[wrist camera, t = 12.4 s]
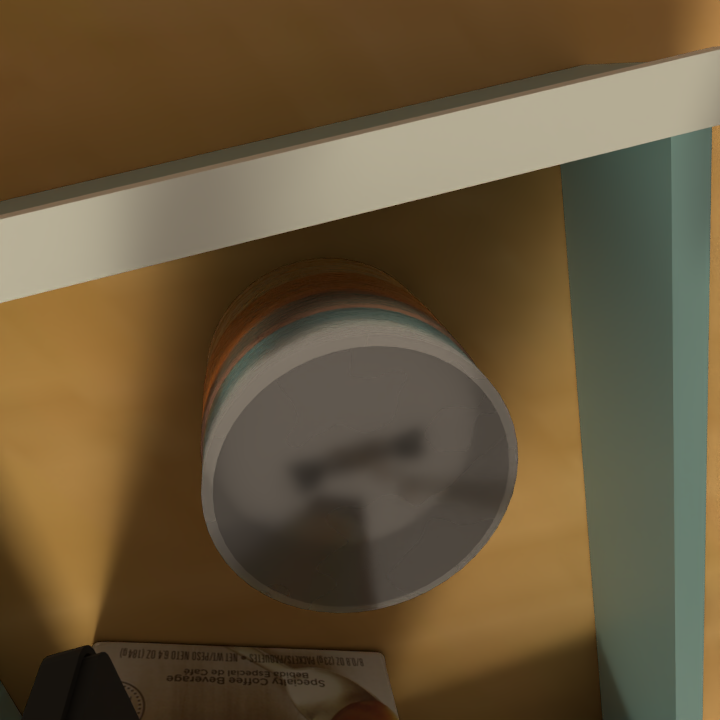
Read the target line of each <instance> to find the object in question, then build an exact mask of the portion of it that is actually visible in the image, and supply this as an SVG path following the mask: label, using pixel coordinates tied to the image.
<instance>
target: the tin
mask: <svg viewBox="0 0 720 720" xmlns="http://www.w3.org/2000/svg"><path fill="white" fill-rule="evenodd" d="M201 459H202V487H201V498H202V507H203V514H204V518H205V521H206V525H207V529H208V532H209V534H210V536H211V538H212V540H213V542H214V545H215V547H216V548H217V550H218V551H219V553H220V554H221V556H222V557H223V559H224V560H225V562H226V563H227V564H228V565H229V566H230V567H231V568H232V570H233V571H234V572H235V573H236V574H237V575H238V576H239V577H241V578H242V579H243V580H244V581H245V582H247V583H248V584H249V585H250V586H252V587H253V588H255V589H257V590H258V591H260V592H261V593H263V594H265V595H266V596H268V597H271V598H273V599H275V600H277V601H280V602H282V603H285V604H288V605H291V606H295V607H298V608H301V609H307V610H312V611H318V612H331V613H350V612H362V611H369V610H376V609H380V608H384V607H388V606H392V605H396V604H398V603H401V602H404V601H407V600H409V599H412V598H414V597H417V596H419V595H421V594H423V593H425V592H427V591H429V590H431V589H433V588H434V587H436V586H438V585H439V584H441V583H443V582H444V581H446V580H447V579H449V578H450V577H451V576H453V575H454V574H455V573H457V572H458V571H459V570H461V569H462V568H463V567H464V566H465V565H466V564H467V563H468V562H469V561H470V560H471V559H473V558H474V557H475V556H476V555H477V553H478V552H479V551H480V550H481V549H482V548H483V546H484V545H485V544H486V543H487V542H488V540H489V539H490V537H491V536H492V534H493V533H494V532H495V530H496V529H497V527H498V525H499V523H500V522H501V520H502V518H503V516H504V514H505V512H506V510H507V507H508V505H509V502H510V499H511V497H512V494H513V489H514V485H515V481H516V476H517V465H518V450H517V439H516V434H515V429H514V425H513V422H512V420H511V417H510V414H509V411H508V409H507V407H506V405H505V403H504V402H503V400H502V398H501V396H500V394H499V393H498V392H497V390H496V389H495V388H494V387H493V385H492V384H491V383H490V381H489V380H488V379H487V378H486V377H485V376H484V374H483V373H482V372H481V371H480V370H479V369H478V368H477V367H476V365H475V364H474V362H473V360H472V359H471V357H470V356H469V355H468V354H467V352H466V351H465V350H464V349H463V347H462V346H461V345H460V344H459V343H458V342H457V341H456V339H455V338H454V337H453V336H452V335H451V334H450V333H449V332H448V331H447V330H446V328H445V327H444V326H443V325H442V324H441V323H440V322H439V321H438V320H437V319H436V317H435V316H434V315H433V314H432V313H431V312H430V311H429V310H428V309H427V308H426V307H425V306H424V305H423V304H422V303H421V302H420V301H419V300H418V299H416V298H415V297H414V296H413V295H412V294H411V293H410V292H409V291H408V290H407V289H406V288H405V287H404V286H403V285H402V284H401V283H400V282H398V281H397V280H395V279H394V278H393V277H391V276H390V275H388V274H386V273H385V272H383V271H381V270H379V269H377V268H375V267H372V266H369V265H366V264H364V263H361V262H356V261H352V260H347V259H337V258H319V259H310V260H304V261H299V262H295V263H292V264H289V265H286V266H283V267H280V268H278V269H276V270H274V271H272V272H270V273H268V274H266V275H264V276H263V277H261V278H260V279H258V280H257V281H255V282H254V283H252V284H251V285H250V286H249V287H248V288H246V289H245V290H244V291H243V292H242V293H241V294H240V295H239V296H238V297H237V298H236V299H235V300H234V301H233V302H232V304H231V305H230V306H229V308H228V309H227V311H226V312H225V313H224V315H223V316H222V318H221V320H220V322H219V324H218V326H217V328H216V330H215V332H214V335H213V338H212V341H211V344H210V349H209V354H208V359H207V371H206V377H205V382H204V395H203V413H202V431H201Z"/></svg>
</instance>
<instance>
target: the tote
mask: <svg viewBox="0 0 720 720" xmlns="http://www.w3.org/2000/svg"><path fill="white" fill-rule="evenodd" d="M717 125H720V46H718V47H710V48H706V49H702V50H698V51H693V52H689V53H685V54H681V55H676V56H672V57H668V58H664V59H659V60H655V61H651V62H635V63H611V64H587V65H581V66H577V67H573V68H569V69H564V70H560V71H556V72H551V73H547V74H543V75H539V76H534V77H530V78H526V79H522V80H517V81H513V82H509V83H504V84H500V85H496V86H492V87H487V88H483V89H479V90H475V91H470V92H466V93H462V94H457V95H453V96H449V97H445V98H440V99H436V100H432V101H427V102H423V103H419V104H415V105H410V106H406V107H402V108H398V109H393V110H389V111H385V112H380V113H376V114H372V115H368V116H363V117H359V118H355V119H351V120H346V121H342V122H338V123H333V124H329V125H325V126H321V127H316V128H312V129H308V130H304V131H299V132H295V133H291V134H286V135H282V136H278V137H274V138H269V139H265V140H261V141H257V142H252V143H248V144H244V145H239V146H235V147H231V148H227V149H222V150H218V151H214V152H209V153H205V154H201V155H197V156H192V157H188V158H184V159H180V160H175V161H171V162H167V163H162V164H158V165H154V166H150V167H145V168H141V169H137V170H133V171H128V172H124V173H120V174H115V175H111V176H107V177H103V178H98V179H94V180H90V181H86V182H81V183H77V184H73V185H68V186H64V187H60V188H56V189H51V190H47V191H43V192H39V193H34V194H30V195H26V196H21V197H17V198H13V199H9V200H4V201H0V303H2V302H6V301H10V300H14V299H18V298H22V297H26V296H30V295H34V294H38V293H42V292H46V291H50V290H55V289H59V288H63V287H67V286H71V285H75V284H79V283H83V282H87V281H91V280H95V279H99V278H103V277H107V276H111V275H115V274H119V273H123V272H127V271H131V270H135V269H139V268H143V267H147V266H151V265H156V264H160V263H164V262H168V261H172V260H176V259H180V258H184V257H188V256H192V255H196V254H200V253H204V252H208V251H212V250H216V249H220V248H224V247H228V246H232V245H236V244H240V243H244V242H248V241H252V240H256V239H261V238H265V237H269V236H273V235H277V234H281V233H285V232H289V231H293V230H297V229H301V228H305V227H309V226H313V225H317V224H321V223H325V222H329V221H333V220H337V219H341V218H345V217H349V216H353V215H357V214H361V213H366V212H370V211H374V210H378V209H382V208H386V207H390V206H394V205H398V204H402V203H406V202H410V201H414V200H418V199H422V198H426V197H430V196H434V195H438V194H442V193H446V192H450V191H454V190H458V189H462V188H466V187H471V186H475V185H479V184H483V183H487V182H491V181H495V180H499V179H503V178H507V177H511V176H515V175H519V174H523V173H527V172H531V171H535V170H539V169H543V168H547V167H551V166H555V165H559V164H560V166H561V179H562V192H563V205H564V218H565V232H566V245H567V258H568V271H569V284H570V298H571V311H572V324H573V337H574V350H575V364H576V377H577V390H578V403H579V416H580V430H581V443H582V456H583V469H584V482H585V495H586V509H587V522H588V535H589V548H590V561H591V575H592V588H593V601H594V614H595V627H596V641H597V654H598V667H599V680H600V693H601V707H602V720H702V718H703V655H704V592H705V529H706V466H707V403H708V340H709V277H710V214H711V151H712V127H713V126H717ZM21 719H22V716H21V714H20V712H19V711H18V709H17V707H16V706H15V704H14V703H13V701H12V699H11V698H10V696H9V694H8V693H7V691H6V689H5V688H4V686H3V684H2V683H1V681H0V720H21Z"/></svg>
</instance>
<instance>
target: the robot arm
mask: <svg viewBox="0 0 720 720" xmlns="http://www.w3.org/2000/svg"><path fill="white" fill-rule="evenodd" d="M21 720H140V719H139V717H138V715H137V713H136V711H135V709H134V707H133V704H132V702H131V700H130V698H129V696H128V694H127V692H126V690H125V688H124V686H123V684H122V682H121V679H120V677H119V675H118V673H117V671H116V669H115V667H114V665H113V663H112V661H111V659H110V657H109V655H108V654H107V653H106V652H100V653H97V654H96V652H95V650H94V649H93V648H92V647H91V646H89V645H86V646H82V647H78V648H75V649H71V650H68V651H64V652H61V653H57V654H53V655H50V656H47V657H46V658H45V659H44V660H43V661H42V663H41V665H40V668H39V671H38V674H37V676H36V679H35V682H34V685H33V688H32V690H31V693H30V696H29V699H28V702H27V705H26V707H25V710H24V713H23V716H22V719H21Z"/></svg>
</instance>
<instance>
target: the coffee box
mask: <svg viewBox="0 0 720 720" xmlns="http://www.w3.org/2000/svg"><path fill="white" fill-rule="evenodd" d="M92 648H93V649H94V650H95V652H96V654H97V653H100V652H106V653H107V654H108V655H109V657H110V659H111V661H112V663H113V665H114V667H115V669H116V671H117V673H118V675H119V677H120V679H121V682H122V684H123V686H124V688H125V690H126V692H127V694H128V696H129V698H130V700H131V702H132V704H133V707H134V709H135V711H136V713H137V715H138V717H139V719H140V720H399V717H398V713H397V709H396V705H395V701H394V697H393V693H392V689H391V685H390V681H389V677H388V673H387V669H386V664H385V657H384V655H382V654H381V653H379V652H361V651H336V650H312V649H286V648H259V647H231V646H207V645H183V644H159V643H130V642H96V643H95V644H94V645H93V646H92Z"/></svg>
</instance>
